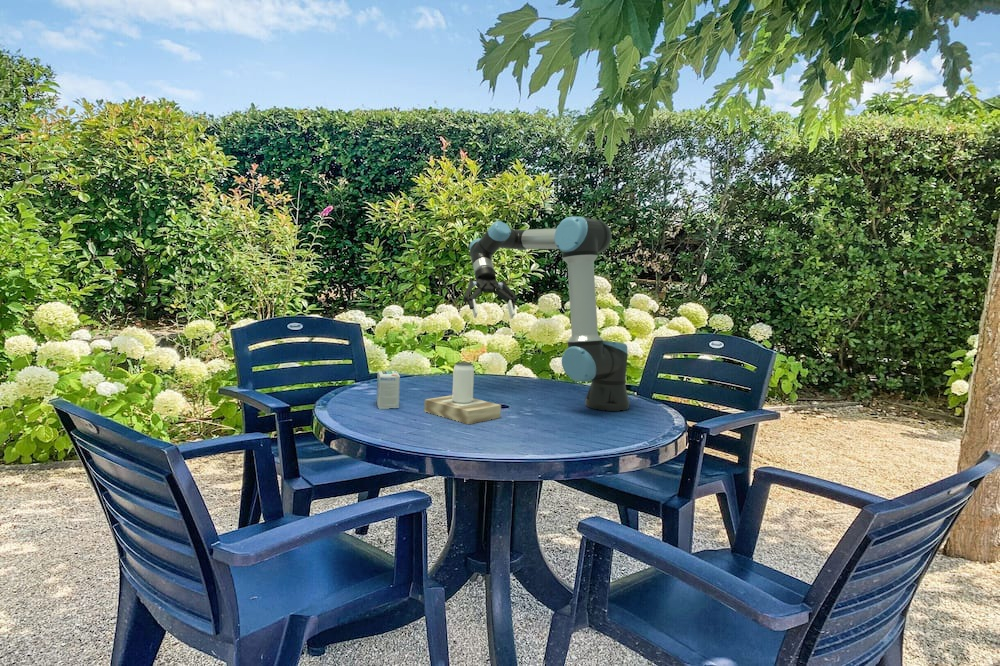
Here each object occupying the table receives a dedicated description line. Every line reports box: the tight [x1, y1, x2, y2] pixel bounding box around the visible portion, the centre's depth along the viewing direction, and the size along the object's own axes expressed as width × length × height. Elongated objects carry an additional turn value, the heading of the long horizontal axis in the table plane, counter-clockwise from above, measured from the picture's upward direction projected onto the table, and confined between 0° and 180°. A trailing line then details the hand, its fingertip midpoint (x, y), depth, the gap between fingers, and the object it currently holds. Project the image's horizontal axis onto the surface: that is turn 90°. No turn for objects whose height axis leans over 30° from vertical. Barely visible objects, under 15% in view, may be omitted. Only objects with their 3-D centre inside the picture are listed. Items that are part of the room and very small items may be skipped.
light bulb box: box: [376, 370, 401, 410], centre depth 199 cm, size 11×7×11 cm, turn 15°
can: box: [451, 362, 475, 404], centre depth 190 cm, size 6×6×12 cm
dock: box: [423, 394, 502, 425], centre depth 191 cm, size 20×14×4 cm
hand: (494, 315), depth 215 cm, fingers open, 13 cm apart
